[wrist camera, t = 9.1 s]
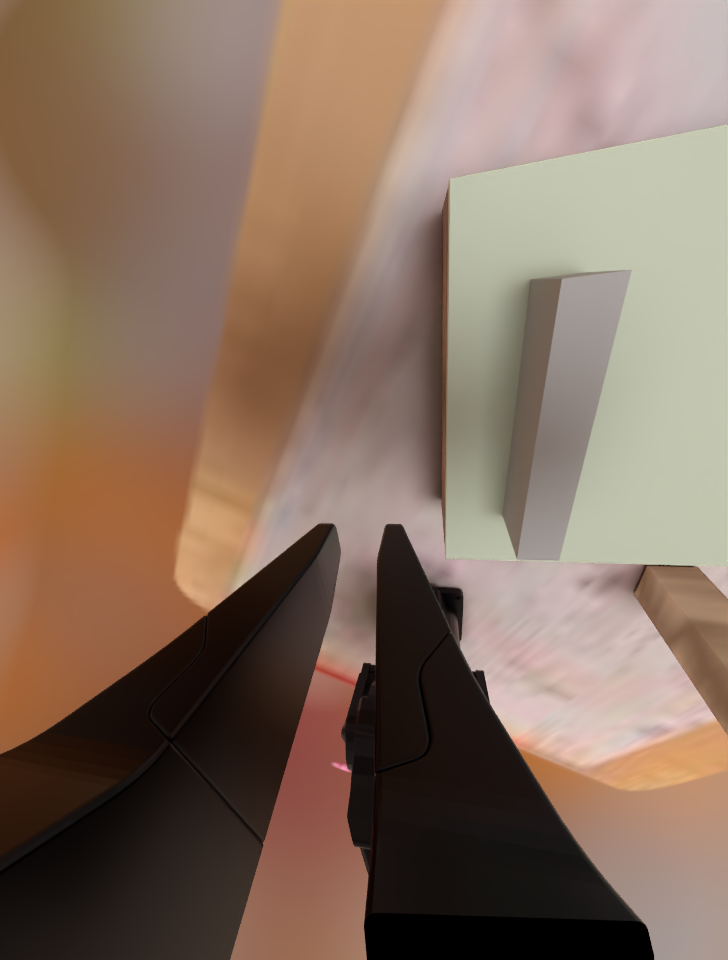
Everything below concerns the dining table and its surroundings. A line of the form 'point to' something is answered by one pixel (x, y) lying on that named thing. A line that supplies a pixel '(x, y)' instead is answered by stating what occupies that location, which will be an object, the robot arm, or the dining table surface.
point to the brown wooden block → (691, 628)
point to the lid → (590, 357)
